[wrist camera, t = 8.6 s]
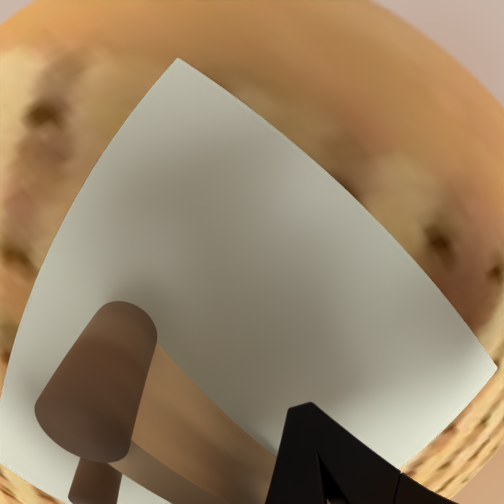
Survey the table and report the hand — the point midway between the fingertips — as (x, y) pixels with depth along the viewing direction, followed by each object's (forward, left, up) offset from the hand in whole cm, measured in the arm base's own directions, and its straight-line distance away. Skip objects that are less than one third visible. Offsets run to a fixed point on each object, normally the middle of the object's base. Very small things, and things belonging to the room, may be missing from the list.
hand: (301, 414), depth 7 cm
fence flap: (-2, +1, -1) cm, 2 cm away
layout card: (-5, -1, -2) cm, 5 cm away
